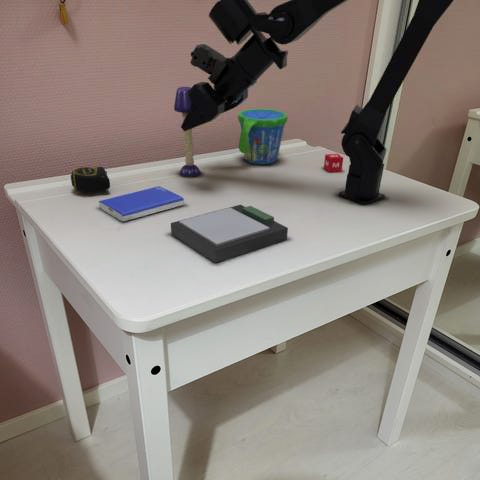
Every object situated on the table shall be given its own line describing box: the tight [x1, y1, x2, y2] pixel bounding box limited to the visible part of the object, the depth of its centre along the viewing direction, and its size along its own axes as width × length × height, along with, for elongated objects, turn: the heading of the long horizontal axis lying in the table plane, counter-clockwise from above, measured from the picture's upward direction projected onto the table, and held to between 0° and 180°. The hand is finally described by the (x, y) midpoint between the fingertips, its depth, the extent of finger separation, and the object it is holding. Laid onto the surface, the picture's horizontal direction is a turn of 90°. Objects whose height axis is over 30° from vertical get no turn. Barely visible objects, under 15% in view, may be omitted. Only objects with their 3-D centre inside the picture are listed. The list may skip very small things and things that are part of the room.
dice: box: [323, 153, 344, 173], centre depth 107 cm, size 3×3×3 cm
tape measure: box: [70, 166, 111, 194], centre depth 92 cm, size 7×7×4 cm
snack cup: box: [237, 108, 288, 166], centre depth 109 cm, size 16×10×10 cm
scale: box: [170, 204, 289, 264], centre depth 77 cm, size 14×12×3 cm
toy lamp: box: [173, 86, 201, 178], centre depth 98 cm, size 5×5×17 cm
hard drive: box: [98, 185, 185, 222], centre depth 87 cm, size 2×8×12 cm
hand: (192, 124), depth 97 cm, fingers open, 9 cm apart
